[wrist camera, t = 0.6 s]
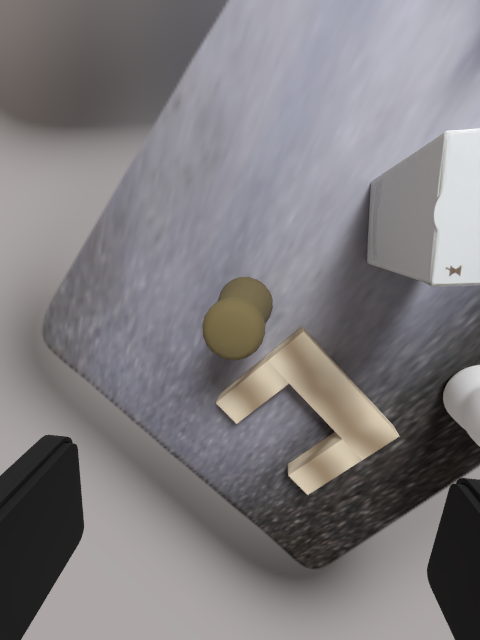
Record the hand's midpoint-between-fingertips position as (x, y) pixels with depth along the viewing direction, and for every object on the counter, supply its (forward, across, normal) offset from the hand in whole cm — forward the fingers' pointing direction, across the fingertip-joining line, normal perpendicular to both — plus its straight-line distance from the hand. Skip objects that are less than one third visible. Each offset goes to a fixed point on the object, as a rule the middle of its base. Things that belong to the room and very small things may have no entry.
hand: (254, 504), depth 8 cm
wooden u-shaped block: (+28, -6, +13) cm, 32 cm away
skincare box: (+28, -13, -8) cm, 32 cm away
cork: (+29, +2, +1) cm, 29 cm away
